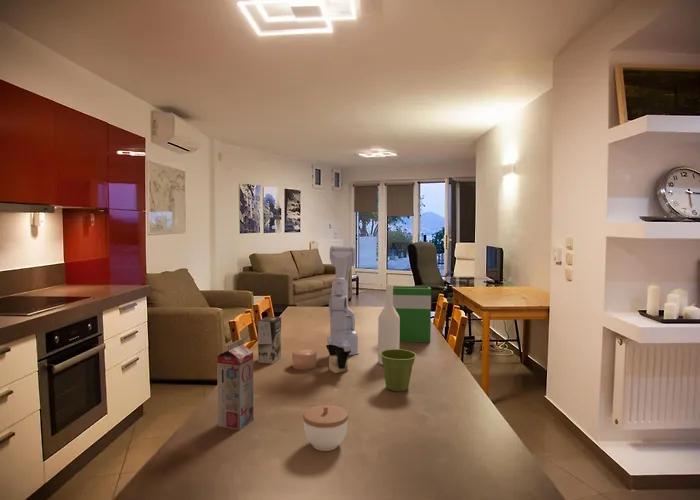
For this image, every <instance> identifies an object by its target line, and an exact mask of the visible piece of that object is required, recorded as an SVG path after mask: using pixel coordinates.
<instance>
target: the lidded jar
mask: <svg viewBox="0 0 700 500" xmlns="http://www.w3.org/2000/svg"><path fill="white" fill-rule="evenodd" d="M302 417H303V418H302V419H303V428H304V429H303V431H304V435H305V438H306V439H307V441H308V442H309V443H310V444H311V446H312V447H313V448H314V449H315V450H317V451H321V452H329V451H333V450H336V449H337V448H338V447H339V445H340V444H341V443H342V442H343V441H344V439H345V437H346V435H347V431H348V419H349V412H348V411H347V410H346V409H345V408H343V407H341V406H338V405H331V404H321V405H315V406H312V407H309V408H307V409H306V410H304V412H303V416H302Z"/></svg>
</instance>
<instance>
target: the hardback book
mask: <svg viewBox="0 0 700 500" xmlns="http://www.w3.org/2000/svg"><path fill="white" fill-rule="evenodd" d="M393 306H394V308H395V310H396V311H397V313H398V315H399V318H400V339H399V342H404V343H405V342H408V343H409V342H410V343H411V342H412V343H413V342H414V343H431V332H432V331H431V328H432V327H431V325H432V324H431V323H432V321H431V319H432V288H431V286H421V285H420V286H417V285H416V286H415V285H414V286H413V285H410V286H407V285H405V286H404V285H393Z"/></svg>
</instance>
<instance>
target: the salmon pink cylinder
mask: <svg viewBox="0 0 700 500" xmlns="http://www.w3.org/2000/svg"><path fill="white" fill-rule="evenodd" d="M291 355H292V358H291V362H292V363H291V364H292V367H291V368H293V369H295V370H301V371H308V370H313V369H315V368H317V365H318V364H317V362H318V359H317V355H318V352H317V351H316V350H312V349H298V350H294V351H293V352H292V354H291Z"/></svg>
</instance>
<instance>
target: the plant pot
mask: <svg viewBox="0 0 700 500" xmlns="http://www.w3.org/2000/svg"><path fill="white" fill-rule="evenodd" d="M380 356H381V357H382V362H383V365H382V367H383V373H384V380H385V387H386V389H387V390H391V391H393V392H405V391H406V390H409V386H410V381H411V377H412V370H413V367H414V366H413V365H414V363H415V360H416V358H417V356H418V355H417V353H416V352H414V351H411V350H407V349H401V348H399V349H388V350H383V351H381V352H380Z"/></svg>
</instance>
